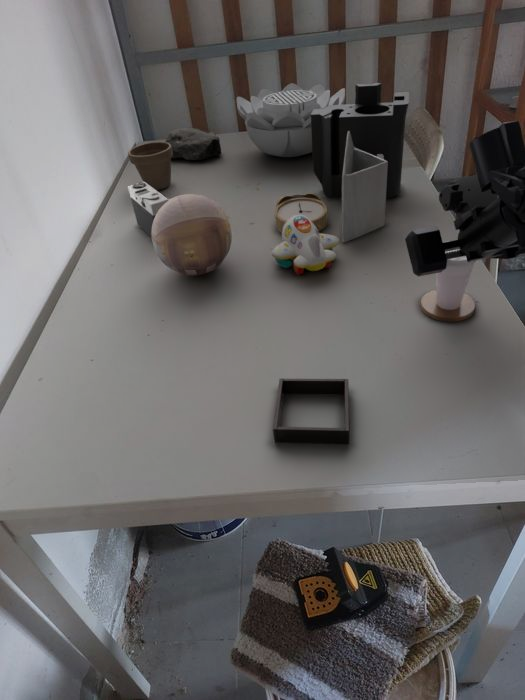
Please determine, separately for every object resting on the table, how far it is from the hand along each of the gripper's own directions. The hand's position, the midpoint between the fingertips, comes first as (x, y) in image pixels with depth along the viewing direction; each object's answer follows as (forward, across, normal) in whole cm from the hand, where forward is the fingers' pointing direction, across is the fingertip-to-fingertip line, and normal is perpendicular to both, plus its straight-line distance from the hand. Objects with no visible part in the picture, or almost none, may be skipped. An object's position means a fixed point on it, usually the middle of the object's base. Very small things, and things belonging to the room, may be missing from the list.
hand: (449, 259), depth 81 cm
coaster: (+5, 0, +7) cm, 8 cm away
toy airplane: (+21, +18, -9) cm, 29 cm away
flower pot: (+59, +44, -47) cm, 88 cm away
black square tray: (-8, +28, +19) cm, 34 cm away
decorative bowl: (+65, +4, -54) cm, 84 cm away
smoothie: (+4, 0, +6) cm, 8 cm away
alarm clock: (+33, +14, -22) cm, 42 cm away
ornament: (+24, +38, -12) cm, 47 cm away
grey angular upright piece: (+28, +2, -17) cm, 33 cm away
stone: (+72, +33, -60) cm, 100 cm away
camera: (+39, +44, -27) cm, 65 cm away
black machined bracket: (+41, -3, -30) cm, 51 cm away
